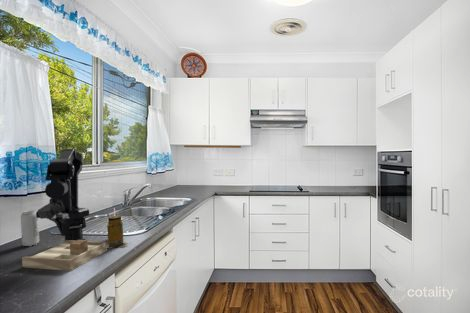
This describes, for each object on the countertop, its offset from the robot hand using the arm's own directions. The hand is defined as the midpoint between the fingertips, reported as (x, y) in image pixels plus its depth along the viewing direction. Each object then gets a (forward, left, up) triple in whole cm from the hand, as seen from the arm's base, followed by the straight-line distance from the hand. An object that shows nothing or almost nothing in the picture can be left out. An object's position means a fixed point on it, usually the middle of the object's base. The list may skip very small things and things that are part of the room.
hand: (64, 235), depth 101 cm
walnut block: (0, +6, -6) cm, 9 cm away
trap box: (0, +1, -9) cm, 9 cm away
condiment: (-16, +11, -9) cm, 21 cm away
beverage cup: (-24, +4, -9) cm, 26 cm away
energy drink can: (-11, -29, -9) cm, 33 cm away
